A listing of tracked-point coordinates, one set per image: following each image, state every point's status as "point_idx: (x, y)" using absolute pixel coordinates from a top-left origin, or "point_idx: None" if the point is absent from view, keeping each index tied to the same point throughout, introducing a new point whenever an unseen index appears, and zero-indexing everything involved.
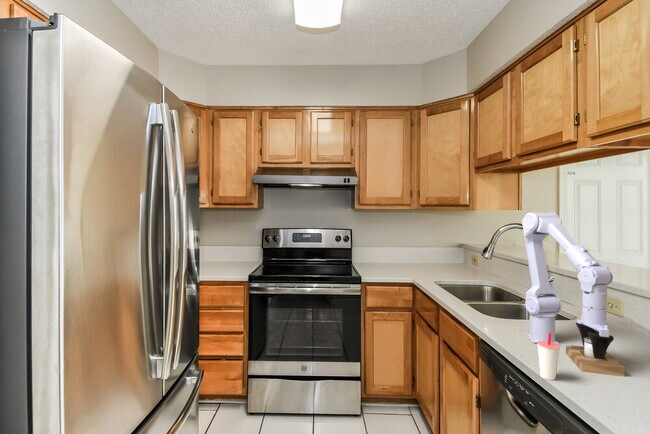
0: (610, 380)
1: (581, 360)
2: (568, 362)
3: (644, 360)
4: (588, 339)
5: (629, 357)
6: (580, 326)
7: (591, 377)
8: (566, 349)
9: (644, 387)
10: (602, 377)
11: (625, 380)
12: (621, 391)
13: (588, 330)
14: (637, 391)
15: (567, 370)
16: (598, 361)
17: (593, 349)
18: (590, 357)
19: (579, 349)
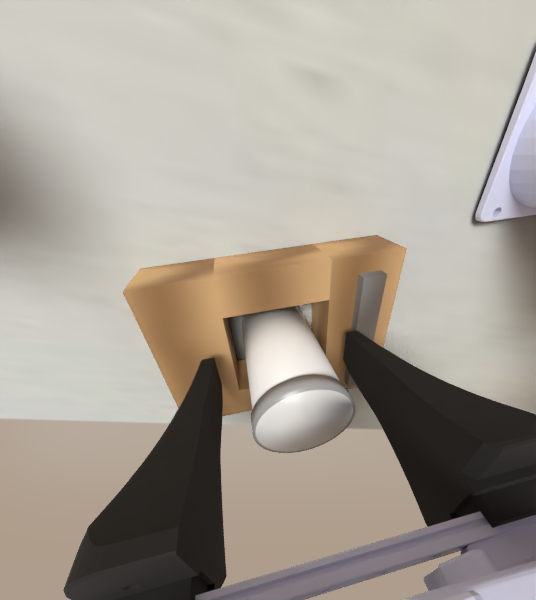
0: (108, 355)
1: (158, 293)
2: (242, 224)
3: (354, 428)
4: (311, 406)
5: (369, 407)
6: (467, 447)
7: (81, 297)
8: (382, 242)
9: (123, 421)
10: (122, 335)
11: (150, 390)
12: (2, 374)
13: (420, 447)
14: (61, 408)
15: (94, 193)
16: (200, 360)
17: (189, 397)
18: (247, 336)
19: (349, 305)
